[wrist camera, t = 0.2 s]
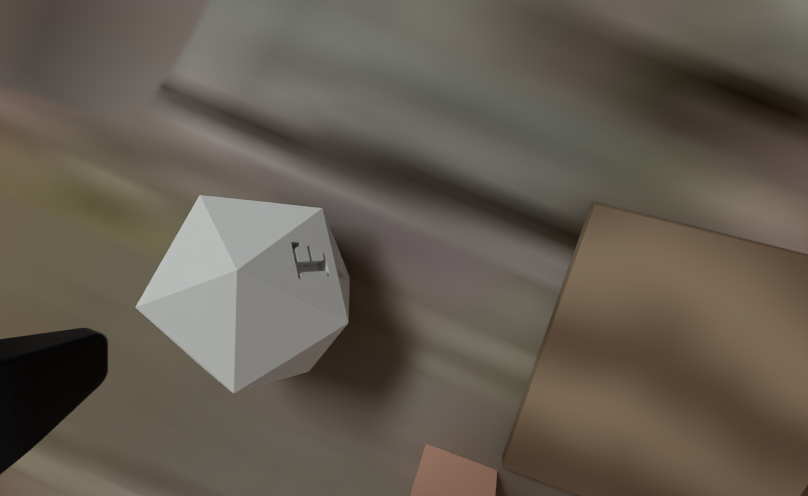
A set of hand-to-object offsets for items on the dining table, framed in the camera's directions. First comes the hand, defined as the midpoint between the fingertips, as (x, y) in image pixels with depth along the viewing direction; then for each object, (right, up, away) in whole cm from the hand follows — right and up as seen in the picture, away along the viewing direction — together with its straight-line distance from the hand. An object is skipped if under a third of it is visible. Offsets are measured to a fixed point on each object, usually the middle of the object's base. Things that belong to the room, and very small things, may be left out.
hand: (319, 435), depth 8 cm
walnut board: (+14, -3, +12) cm, 19 cm away
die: (-4, +2, +16) cm, 17 cm away
